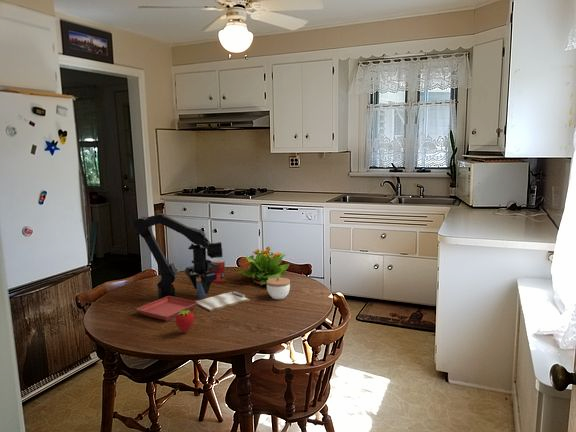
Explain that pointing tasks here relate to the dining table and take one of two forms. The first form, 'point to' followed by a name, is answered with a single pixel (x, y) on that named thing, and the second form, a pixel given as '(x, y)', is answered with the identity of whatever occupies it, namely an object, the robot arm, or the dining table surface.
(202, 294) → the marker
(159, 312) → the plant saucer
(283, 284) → the lidded jar
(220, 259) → the canned food
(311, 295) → the dining table surface
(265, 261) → the potted flower
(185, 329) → the strawberry
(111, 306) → the dining table surface
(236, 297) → the clipboard
